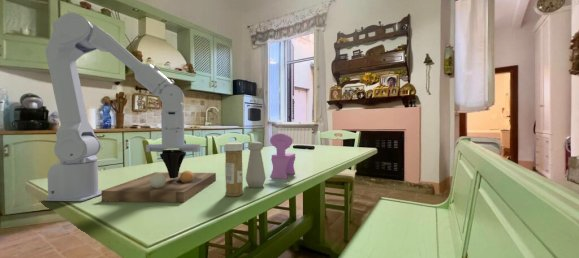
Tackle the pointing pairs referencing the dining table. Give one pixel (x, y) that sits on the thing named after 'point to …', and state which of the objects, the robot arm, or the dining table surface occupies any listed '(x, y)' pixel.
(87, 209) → the dining table surface
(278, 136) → the toy chair
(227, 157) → the spice jar
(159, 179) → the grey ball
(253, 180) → the salt shaker
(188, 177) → the orange ball
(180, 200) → the board
